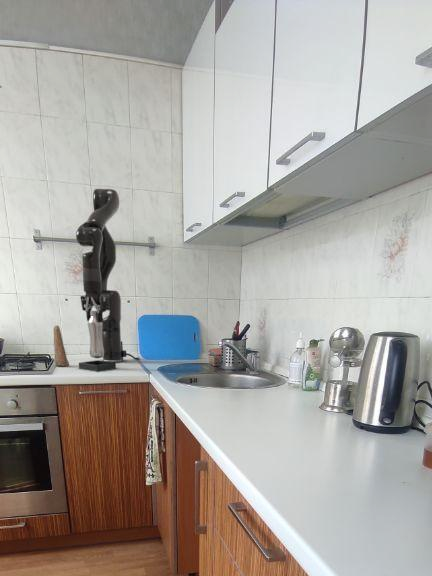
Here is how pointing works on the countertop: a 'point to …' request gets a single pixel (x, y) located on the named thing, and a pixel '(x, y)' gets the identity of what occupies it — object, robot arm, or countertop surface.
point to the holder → (97, 365)
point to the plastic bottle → (95, 336)
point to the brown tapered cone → (59, 348)
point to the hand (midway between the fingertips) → (94, 321)
